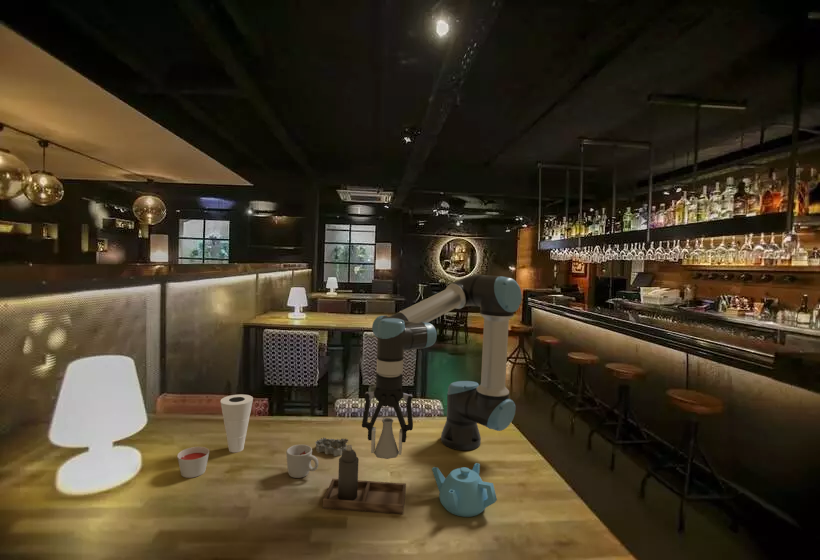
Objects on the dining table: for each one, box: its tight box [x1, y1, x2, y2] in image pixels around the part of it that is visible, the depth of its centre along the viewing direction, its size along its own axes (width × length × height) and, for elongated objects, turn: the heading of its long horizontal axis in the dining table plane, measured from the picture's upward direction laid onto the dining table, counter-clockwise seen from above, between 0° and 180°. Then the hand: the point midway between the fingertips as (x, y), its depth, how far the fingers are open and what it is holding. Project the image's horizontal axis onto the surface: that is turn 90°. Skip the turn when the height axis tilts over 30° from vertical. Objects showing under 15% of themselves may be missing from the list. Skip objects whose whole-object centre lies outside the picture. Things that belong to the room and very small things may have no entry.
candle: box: [177, 446, 210, 479], centre depth 138 cm, size 9×9×6 cm
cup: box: [285, 444, 319, 479], centre depth 139 cm, size 11×8×8 cm
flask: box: [373, 417, 399, 460], centre depth 126 cm, size 7×7×10 cm
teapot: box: [431, 462, 498, 518], centre depth 126 cm, size 15×15×11 cm
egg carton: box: [314, 437, 349, 457], centre depth 157 cm, size 11×8×4 cm
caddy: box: [322, 478, 407, 515], centre depth 127 cm, size 22×12×2 cm, turn 87°
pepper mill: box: [337, 444, 359, 501], centre depth 127 cm, size 6×6×15 cm
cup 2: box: [220, 394, 254, 453], centre depth 154 cm, size 11×11×18 cm
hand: (386, 451), depth 126 cm, fingers closed on flask, 7 cm apart
